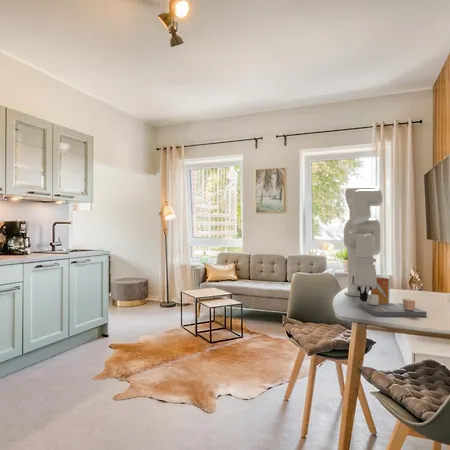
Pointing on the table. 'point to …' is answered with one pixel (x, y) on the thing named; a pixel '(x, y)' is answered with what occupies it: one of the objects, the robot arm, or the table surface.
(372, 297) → the cream fader
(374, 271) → the robot arm
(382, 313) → the plate
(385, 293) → the small box
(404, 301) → the block
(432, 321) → the table surface
